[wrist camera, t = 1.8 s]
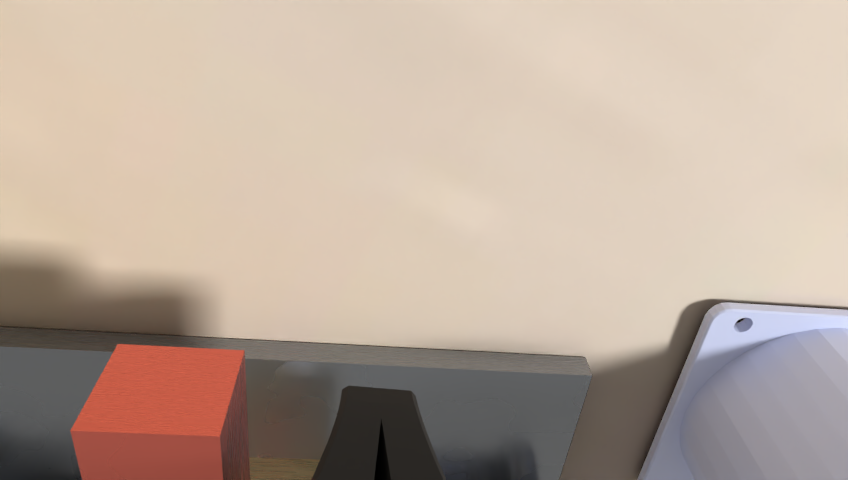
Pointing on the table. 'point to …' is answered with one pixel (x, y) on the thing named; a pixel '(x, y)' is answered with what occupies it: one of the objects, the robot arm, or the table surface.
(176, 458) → the lever
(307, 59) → the table surface
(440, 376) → the grey machine base
